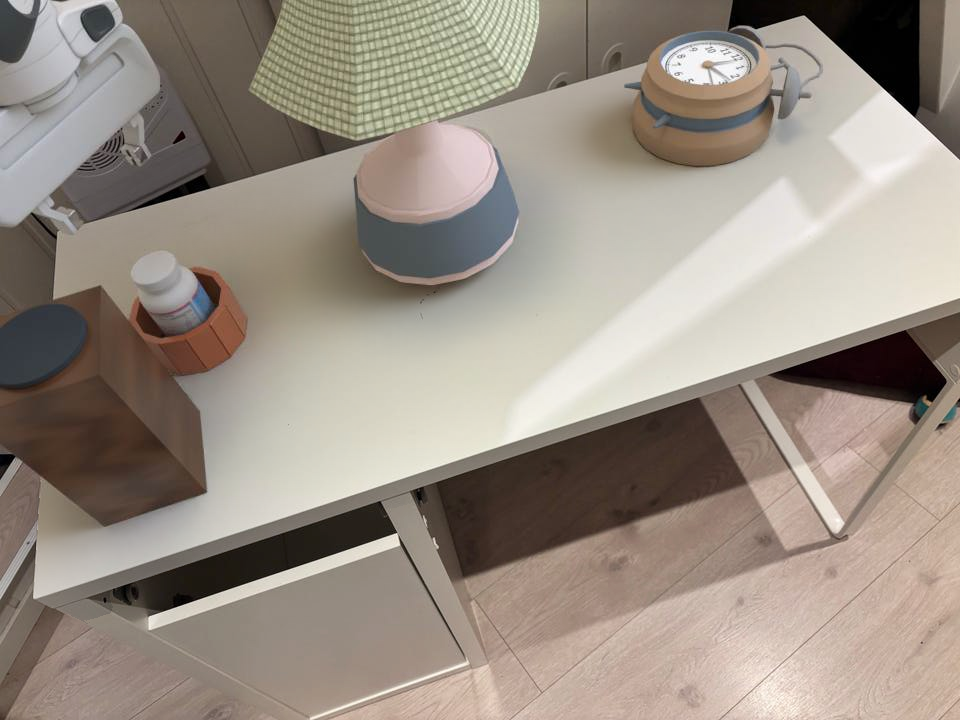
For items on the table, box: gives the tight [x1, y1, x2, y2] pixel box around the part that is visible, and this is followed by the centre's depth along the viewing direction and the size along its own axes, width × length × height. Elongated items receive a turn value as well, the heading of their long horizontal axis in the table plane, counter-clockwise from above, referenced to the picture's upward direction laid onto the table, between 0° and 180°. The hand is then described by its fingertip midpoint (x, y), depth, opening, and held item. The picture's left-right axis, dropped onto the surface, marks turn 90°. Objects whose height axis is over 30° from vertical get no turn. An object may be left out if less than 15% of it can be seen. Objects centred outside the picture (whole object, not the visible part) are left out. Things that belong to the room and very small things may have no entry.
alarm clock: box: [623, 25, 824, 167], centre depth 91 cm, size 17×9×23 cm
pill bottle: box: [130, 250, 217, 338], centre depth 79 cm, size 6×6×11 cm
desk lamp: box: [248, 0, 540, 286], centre depth 72 cm, size 26×28×42 cm
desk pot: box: [128, 266, 248, 376], centre depth 81 cm, size 11×11×6 cm
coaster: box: [0, 304, 87, 389], centre depth 58 cm, size 8×8×1 cm
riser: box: [0, 284, 208, 527], centre depth 66 cm, size 10×10×19 cm
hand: (108, 193), depth 67 cm, fingers open, 8 cm apart
